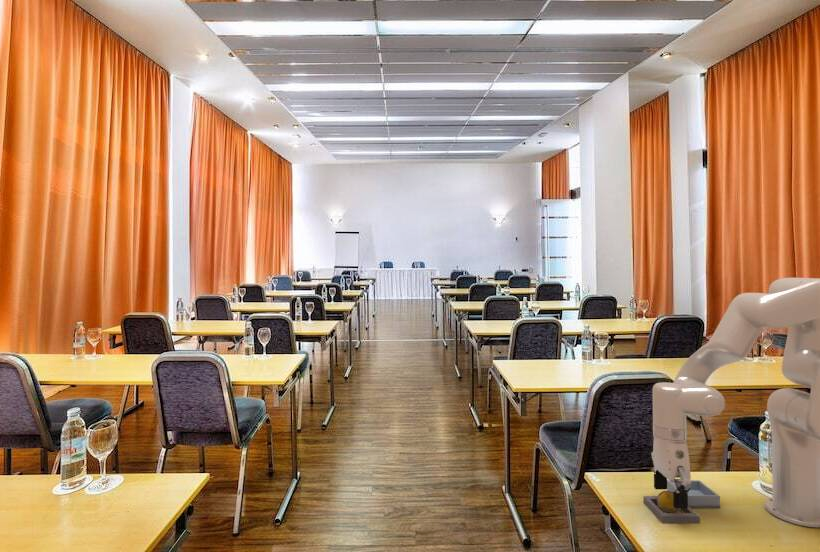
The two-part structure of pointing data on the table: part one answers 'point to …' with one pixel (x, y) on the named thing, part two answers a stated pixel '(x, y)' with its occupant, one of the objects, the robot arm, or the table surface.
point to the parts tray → (699, 495)
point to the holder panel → (685, 517)
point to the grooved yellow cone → (666, 502)
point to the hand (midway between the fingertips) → (670, 498)
